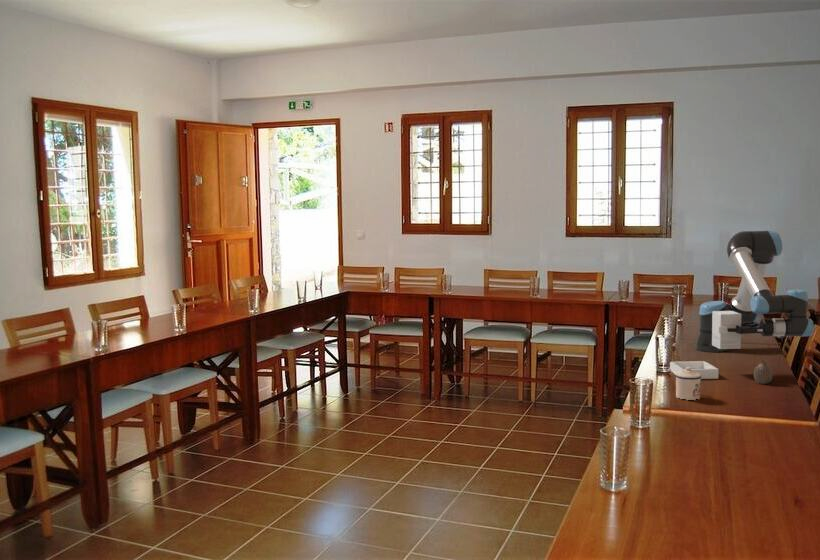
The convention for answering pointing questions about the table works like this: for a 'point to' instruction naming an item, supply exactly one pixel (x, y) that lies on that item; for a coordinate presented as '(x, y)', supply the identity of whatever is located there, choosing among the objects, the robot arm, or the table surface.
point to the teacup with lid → (688, 384)
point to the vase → (763, 373)
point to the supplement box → (725, 338)
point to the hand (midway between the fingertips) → (715, 327)
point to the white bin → (696, 368)
